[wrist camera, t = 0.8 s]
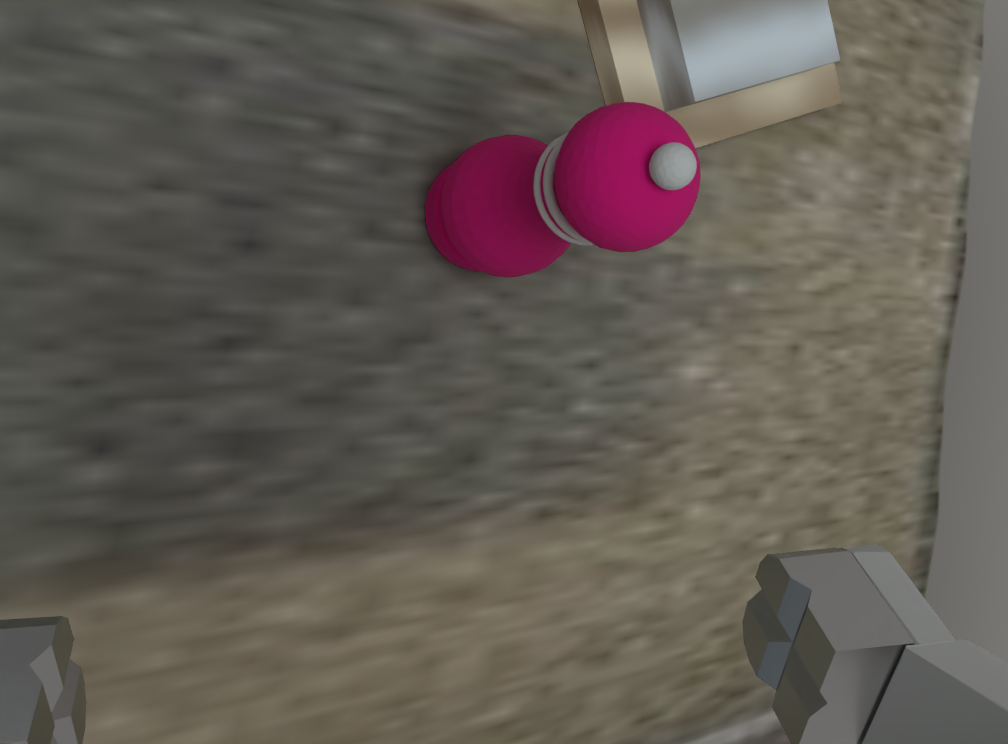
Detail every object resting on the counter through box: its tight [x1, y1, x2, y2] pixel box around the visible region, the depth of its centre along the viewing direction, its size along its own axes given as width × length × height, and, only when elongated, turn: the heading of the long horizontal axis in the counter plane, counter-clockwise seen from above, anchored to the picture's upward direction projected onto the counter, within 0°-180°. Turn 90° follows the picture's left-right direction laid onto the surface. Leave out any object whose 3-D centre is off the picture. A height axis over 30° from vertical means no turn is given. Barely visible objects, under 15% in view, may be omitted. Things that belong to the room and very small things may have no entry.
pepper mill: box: [425, 102, 700, 277], centre depth 44 cm, size 7×7×20 cm
